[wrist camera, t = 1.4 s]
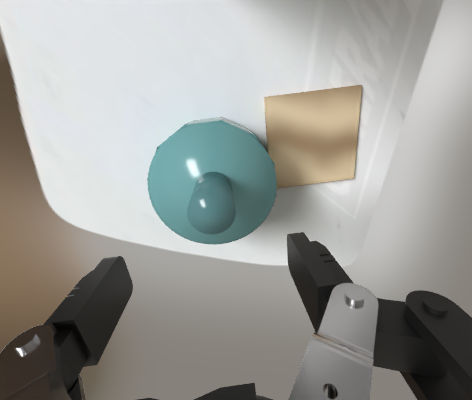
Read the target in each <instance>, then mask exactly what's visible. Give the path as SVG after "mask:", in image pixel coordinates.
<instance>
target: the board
mask: <svg viewBox="0 0 472 400" xmlns="http://www.w3.org/2000/svg"><path fill="white" fill-rule="evenodd" d="M361 91H362V85H357V86H349V87H341V88H333V89H325V90H317V91H309V92H301V93H293V94H285V95H277V96H269V97H264V102H265V118H266V135H267V151H268V155H269V156H270V158H271V159H272V161H273V162H274V163H275V172H276V179H277V188H283V187H291V186H299V185H306V184H314V183H322V182H330V181H337V180H345V179H353V178H354V171H355V159H356V148H357V137H358V125H359V114H360V103H361Z"/></svg>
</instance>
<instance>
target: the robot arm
mask: <svg viewBox="0 0 472 400" xmlns="http://www.w3.org/2000/svg"><path fill="white" fill-rule="evenodd" d="M287 250H288V265H289V270H290V273H291V276H292V278H293V280H294V283H295V285H296V287H297V290H298V292H299V294H300V297H301V299H302V301H303V304H304V306H305V308H306V311H307V313H308V315H309V318H310V320H311V322H312V325H313V327H314V329H315V332H316V333H314V334H313V335H312V337H311V340H310V343H309V345H308V348H307V351H306V353H305V356H304V359H303V362H302V364H301V367H300V370H299V373H298V375H297V378H296V381H295V384H294V386H293V389H292V392H291V395H290V397H289V400H369V399H370V389H371V380H372V370H373V366H376V367H381V368H386V369H391V370H396V371H400V373H401V374H402V376H403V377H404V379H405V381H406V382H407V384H408V385H409V387H410V389H411V390H412V391H413V393H414V395H415V396H416V398H417V400H472V318H471V317H470V316H469V315H468V314H467V313H466V312H464V311H463V310H462V309H461V308H460V307H459V306H458V305H456V304H455V303H454V302H452V301H451V300H449V299H448V298H446V297H444V296H441V295H439V294H436V293H433V292H429V291H413V292H411V293H409V294H408V295H407V297H406V302H401V301H393V300H385V299H379V298H376V296H375V295H374V294H373V293H372V292H371V291H369V290H368V289H367V288H365V287H363V286H360V285H357V284H354V283H353V282H352V280H351V279H350V278H349V277H348V275H347V274H346V273H345V271H344V270H343V269H342V268H341V266H340V265H339V264H338V262H337V261H336V260H335V258H334V257H333V256H332V255H331V253H330V252H329V251H328V249H327V248H326V247H325V246H324V245H322V244H320V243H319V242H317V241H312V242H310V241H309V239H308V238H307V236H306V235H305V234H304V233H303V232H301V233H293V234H288V235H287ZM132 290H133V284H132V280H131V277H130V275H129V272H128V269H127V266H126V263H125V261H124V259H123V257H121V256H118V257H111V258H104V259H103V260H102V261H101V262H100V263H99V264H98V266H97V267H96V268H95V269H94V270H93V271H91V272H90V273H89V274H87V275H86V276H85V277H83V278H82V279H81V280H80V281H79V283H78V284H77V285H76V286H75V287H74V290H72V291H71V292H70V294H68V297H66V298H65V300H63V302H62V303H61V304H60V305H59V306H58V308H57V309H56V310H55V311H54V313H53V314H52V315H51V316H50V318H49V319H48V320H47V321H46V322H45V323H44V324H43V325H39V326H35V327H33V328H30V329H28V330H26V331H25V332H23V333H21V334H20V335H18V336H17V337H15V338H14V339H13V340H12V341H11V342H10V343H8V344H7V345H6V347H5V348H4V349H3V350H2V351H1V353H0V400H86V399H85V393H84V388H83V382H82V378H81V376H80V375H79V374H80V372H81V370H82V368H83V367H85V366H92V365H97V364H98V362H99V360H100V358H101V356H102V354H103V351H104V349H105V347H106V345H107V344H108V341H109V339H110V337H111V335H112V333H113V331H114V329H115V327H116V325H117V323H118V321H119V319H120V317H121V315H122V313H123V311H124V309H125V307H126V305H127V303H128V301H129V299H130V297H131V294H132ZM138 400H157V399H152V398H146V399H138ZM194 400H272V399H269V398H266V397H263V396H258V395H256V392H255V384H254V383H250V384H243V385H236V386H229V387H223V388H219V389H217V390H214V391H212V392H210V393H208V394H205V395H203V396H201V397H199V398H197V399H194Z"/></svg>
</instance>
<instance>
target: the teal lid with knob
mask: <svg viewBox="0 0 472 400" xmlns="http://www.w3.org/2000/svg"><path fill="white" fill-rule="evenodd" d="M147 180H148V191H149V196H150V200H151V202H152V205H153V207H154V209H155V211H156V213H157V214H158V216H159V217H160V219H161V220H162V221H163V222H164V223H165V225H166V226H168V227H169V228H170V229H171V230H172V231H174V232H175V233H177V234H178V235H180V236H182V237H184V238H186V239H188V240H191V241H194V242H198V243H203V244H224V243H229V242H232V241H236V240H238V239H241V238H243V237H245V236H247V235H248V234H250V233H251V232H253V231H254V230H255V229H256V228H258V227H259V226H260V225H261V224H262V222H263V221H264V220H265V219H266V217H267V216H268V214H269V212H270V211H271V208H272V206H273V204H274V200H275V197H276V190H277V179H276V172H275V163H274V162H273V161H272V159H271V158H270V156H269V155H268V153H267V151H266V150H265V149H264V147H263V146H262V144H261V143H260V142H259V140H258V139H257V137H256V135H254V134H253V133H252V132H251V131H249V130H248V129H247V128H244V127H242V126H240V125H238V124H235V123H233V122H231V121H229V120H227V119H224V118H222V117H219V118H211V119H203V120H195V121H192V122H190V123H187V124H185V125H184V126H183V127H181V128H180V129H179V130H178V131H177V132H175V133H174V134H173V135H172V136H170V137H169V138H168V139H167V140H166V141H165V142H163V143H162V144H161V145H160V146H158V147H157V150H156V153H155V156H154V157H153V160H152V162H151V165H150V169H149V173H148V179H147Z"/></svg>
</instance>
